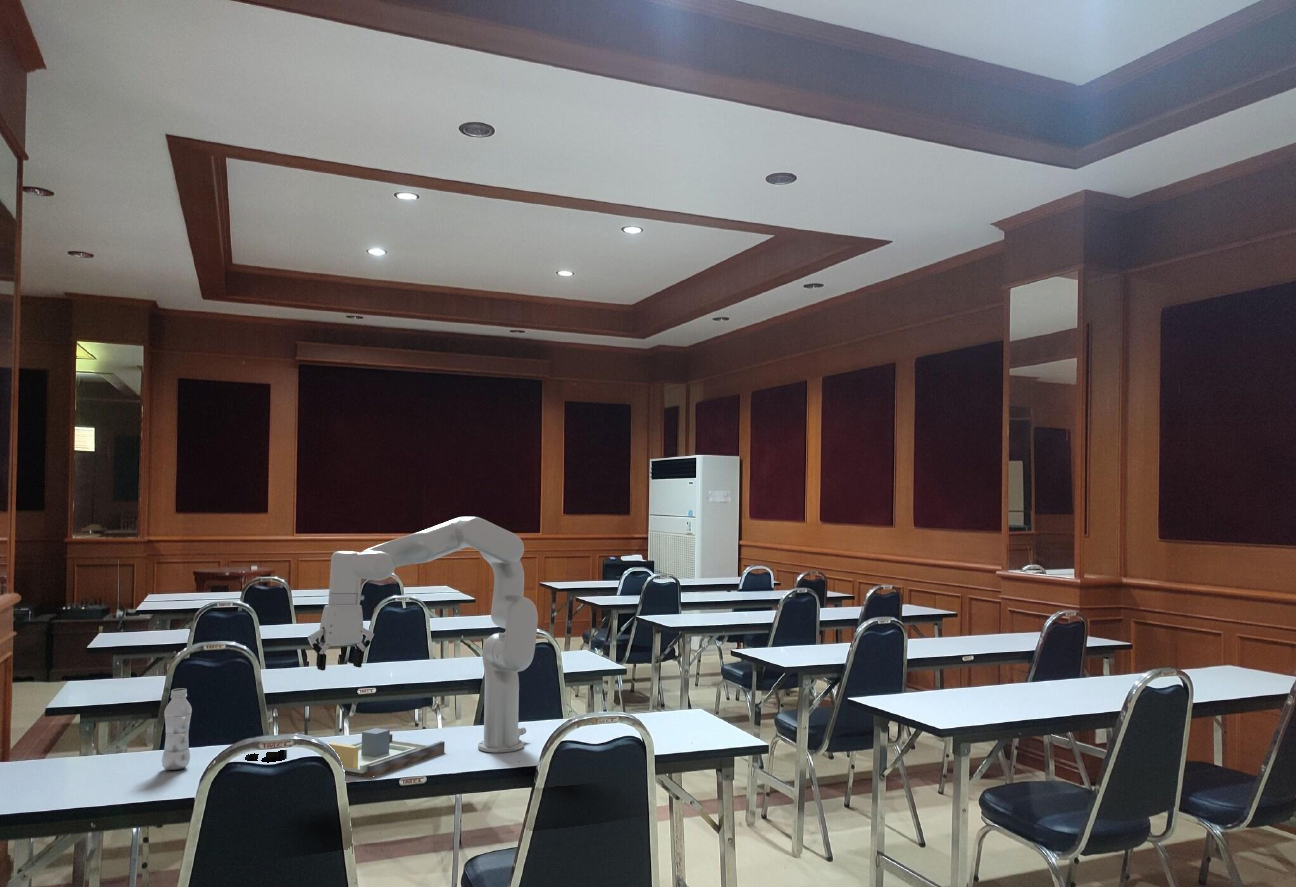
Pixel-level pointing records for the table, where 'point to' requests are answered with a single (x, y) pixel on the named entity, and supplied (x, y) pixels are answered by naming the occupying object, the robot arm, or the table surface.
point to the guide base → (401, 758)
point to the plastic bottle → (177, 731)
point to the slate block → (375, 742)
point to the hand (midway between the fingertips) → (339, 668)
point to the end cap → (269, 756)
